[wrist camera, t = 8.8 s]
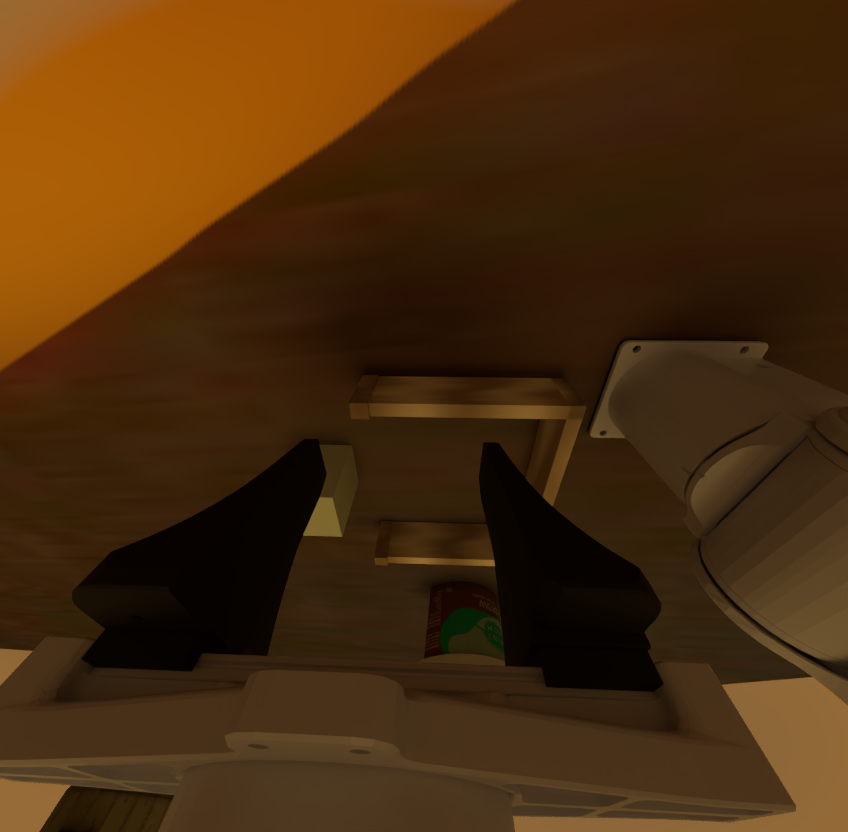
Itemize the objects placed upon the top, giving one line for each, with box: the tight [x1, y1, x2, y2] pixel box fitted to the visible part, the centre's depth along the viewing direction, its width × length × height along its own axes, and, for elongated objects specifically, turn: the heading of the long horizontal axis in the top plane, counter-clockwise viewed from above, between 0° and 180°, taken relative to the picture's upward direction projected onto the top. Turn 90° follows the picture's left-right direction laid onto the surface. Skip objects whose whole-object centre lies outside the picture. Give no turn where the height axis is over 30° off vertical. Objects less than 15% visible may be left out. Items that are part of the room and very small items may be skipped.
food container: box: [419, 582, 505, 666], centre depth 35 cm, size 12×6×10 cm, turn 54°
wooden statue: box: [40, 785, 174, 832], centre depth 25 cm, size 9×12×35 cm
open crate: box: [349, 375, 587, 566], centre depth 25 cm, size 15×18×4 cm
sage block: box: [303, 445, 358, 537], centre depth 25 cm, size 4×4×6 cm
